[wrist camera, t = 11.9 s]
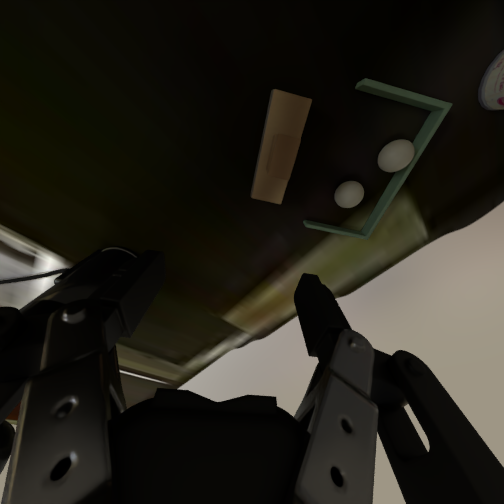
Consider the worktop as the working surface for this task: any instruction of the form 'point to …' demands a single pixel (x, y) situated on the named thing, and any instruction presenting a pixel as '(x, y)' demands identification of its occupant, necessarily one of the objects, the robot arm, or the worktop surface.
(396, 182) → the corral
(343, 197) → the paper ball
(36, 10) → the worktop surface
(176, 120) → the worktop surface
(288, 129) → the brown t-shaped block
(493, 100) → the aerosol can
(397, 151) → the paper ball
